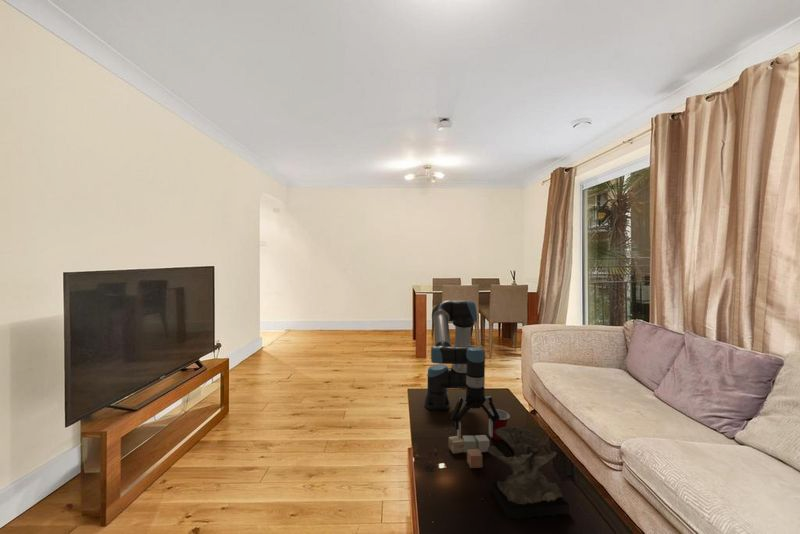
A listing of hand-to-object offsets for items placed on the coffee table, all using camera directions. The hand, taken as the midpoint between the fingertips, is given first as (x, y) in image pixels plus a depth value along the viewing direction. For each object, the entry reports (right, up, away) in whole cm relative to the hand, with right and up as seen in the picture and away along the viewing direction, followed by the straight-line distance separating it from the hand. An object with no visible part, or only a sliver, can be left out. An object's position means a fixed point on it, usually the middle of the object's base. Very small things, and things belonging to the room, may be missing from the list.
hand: (474, 436), depth 139 cm
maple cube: (-6, -12, +11) cm, 17 cm away
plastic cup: (+16, -12, +22) cm, 30 cm away
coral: (+12, -12, -19) cm, 26 cm away
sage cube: (0, -12, +11) cm, 16 cm away
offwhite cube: (+6, -12, +12) cm, 18 cm away
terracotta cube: (0, -12, 0) cm, 12 cm away
